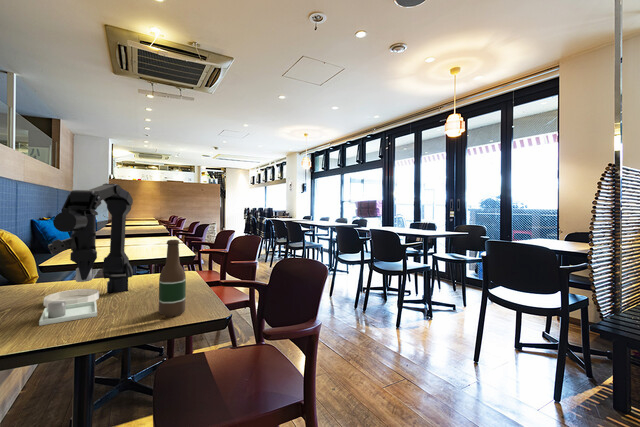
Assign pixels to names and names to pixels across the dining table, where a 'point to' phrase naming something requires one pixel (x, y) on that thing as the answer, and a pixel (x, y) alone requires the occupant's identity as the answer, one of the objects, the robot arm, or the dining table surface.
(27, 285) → the dining table surface
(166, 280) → the beer bottle
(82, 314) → the tray
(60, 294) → the bowl
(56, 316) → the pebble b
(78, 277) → the grey rounded cylinder
